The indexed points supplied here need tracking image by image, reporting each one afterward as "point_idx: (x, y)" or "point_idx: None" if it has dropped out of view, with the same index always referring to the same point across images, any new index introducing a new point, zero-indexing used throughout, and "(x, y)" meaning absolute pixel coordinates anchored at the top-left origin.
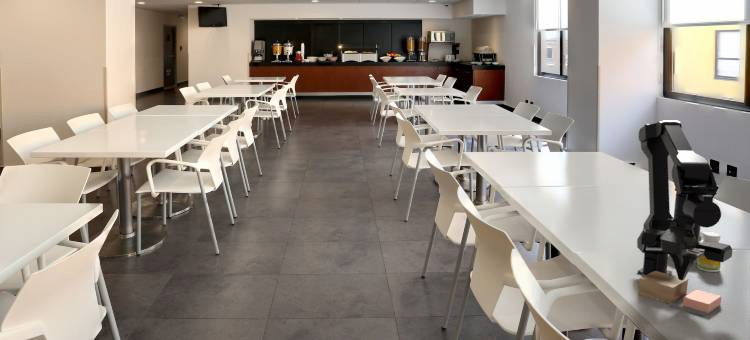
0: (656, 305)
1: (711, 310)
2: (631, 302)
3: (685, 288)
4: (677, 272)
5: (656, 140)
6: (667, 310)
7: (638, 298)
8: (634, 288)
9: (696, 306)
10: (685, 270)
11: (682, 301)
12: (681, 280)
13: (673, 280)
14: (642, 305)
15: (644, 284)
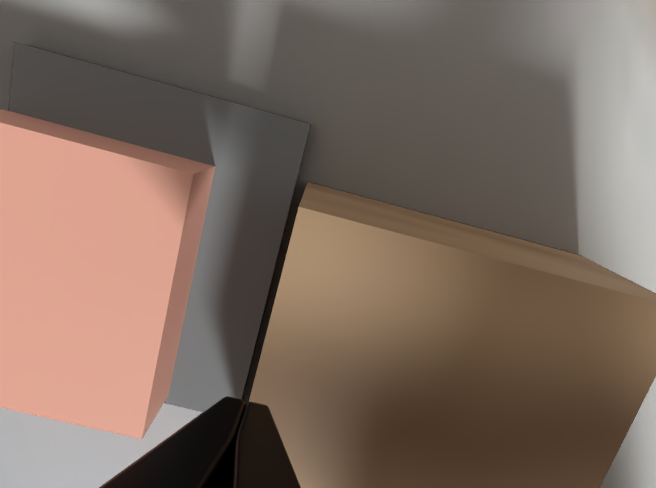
0: (413, 80)
1: None
2: (621, 26)
3: None
4: (276, 457)
5: None
6: (312, 9)
7: (569, 164)
8: None
9: (89, 137)
10: (126, 473)
11: (235, 255)
12: None
13: (334, 439)
14: (524, 6)
15: (593, 274)
